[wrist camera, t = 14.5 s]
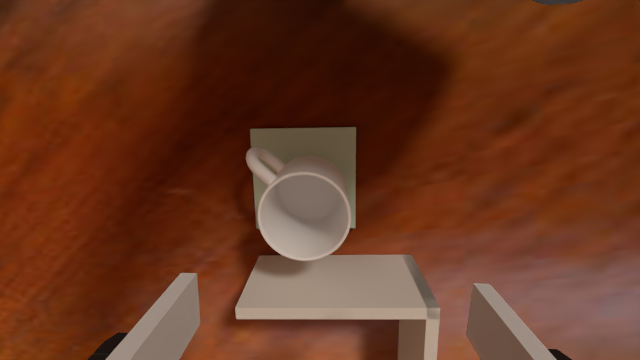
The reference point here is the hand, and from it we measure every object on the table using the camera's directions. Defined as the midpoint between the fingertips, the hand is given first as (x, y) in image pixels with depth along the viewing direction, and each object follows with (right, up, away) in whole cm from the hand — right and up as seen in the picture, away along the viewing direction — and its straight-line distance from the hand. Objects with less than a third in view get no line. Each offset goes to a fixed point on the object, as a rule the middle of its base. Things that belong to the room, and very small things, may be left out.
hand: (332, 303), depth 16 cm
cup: (-3, +6, +23) cm, 24 cm away
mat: (-2, +6, +24) cm, 25 cm away
